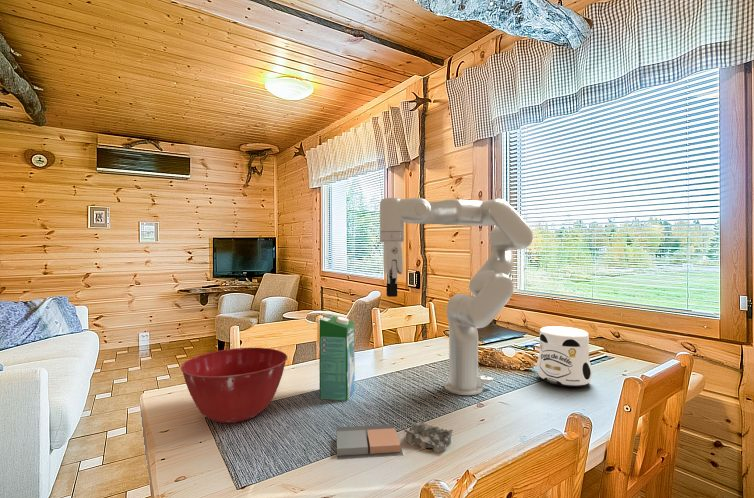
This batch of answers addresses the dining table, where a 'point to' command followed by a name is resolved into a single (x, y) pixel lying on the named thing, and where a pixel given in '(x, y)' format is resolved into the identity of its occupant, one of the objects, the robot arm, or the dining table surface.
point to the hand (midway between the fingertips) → (391, 296)
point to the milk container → (564, 356)
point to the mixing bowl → (234, 382)
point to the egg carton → (433, 432)
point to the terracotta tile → (383, 441)
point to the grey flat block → (351, 442)
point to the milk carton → (336, 358)
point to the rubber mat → (369, 427)
